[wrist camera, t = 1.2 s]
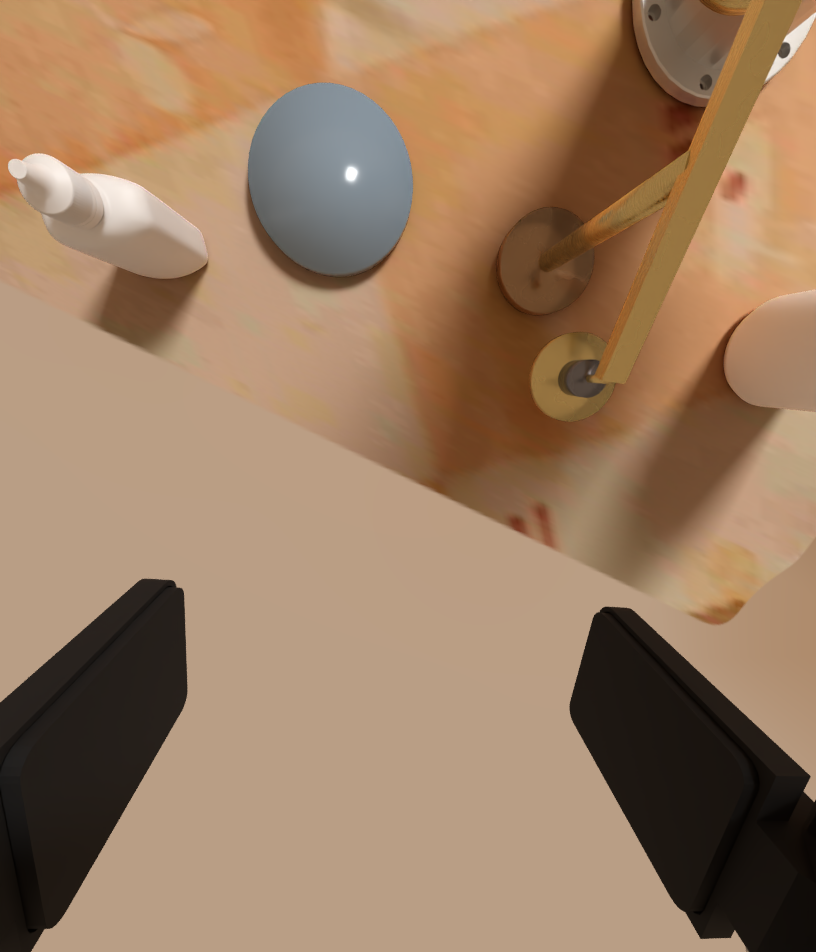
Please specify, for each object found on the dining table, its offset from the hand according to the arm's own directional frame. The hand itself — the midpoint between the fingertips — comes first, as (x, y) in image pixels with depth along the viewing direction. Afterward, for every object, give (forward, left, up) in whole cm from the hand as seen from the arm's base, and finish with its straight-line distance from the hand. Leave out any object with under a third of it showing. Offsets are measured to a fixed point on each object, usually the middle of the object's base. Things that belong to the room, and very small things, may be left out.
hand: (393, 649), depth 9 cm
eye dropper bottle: (-12, -17, -25) cm, 32 cm away
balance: (-16, +10, -25) cm, 31 cm away
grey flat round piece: (-18, -6, -25) cm, 31 cm away
